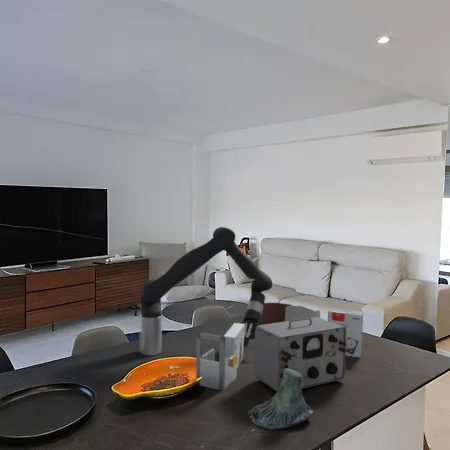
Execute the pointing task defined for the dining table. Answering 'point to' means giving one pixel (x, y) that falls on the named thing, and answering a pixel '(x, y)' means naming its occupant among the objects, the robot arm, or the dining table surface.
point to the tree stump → (283, 405)
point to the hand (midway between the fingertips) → (243, 346)
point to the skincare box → (235, 341)
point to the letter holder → (273, 313)
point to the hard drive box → (349, 328)
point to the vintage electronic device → (300, 351)
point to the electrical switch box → (300, 312)
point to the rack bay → (214, 364)
